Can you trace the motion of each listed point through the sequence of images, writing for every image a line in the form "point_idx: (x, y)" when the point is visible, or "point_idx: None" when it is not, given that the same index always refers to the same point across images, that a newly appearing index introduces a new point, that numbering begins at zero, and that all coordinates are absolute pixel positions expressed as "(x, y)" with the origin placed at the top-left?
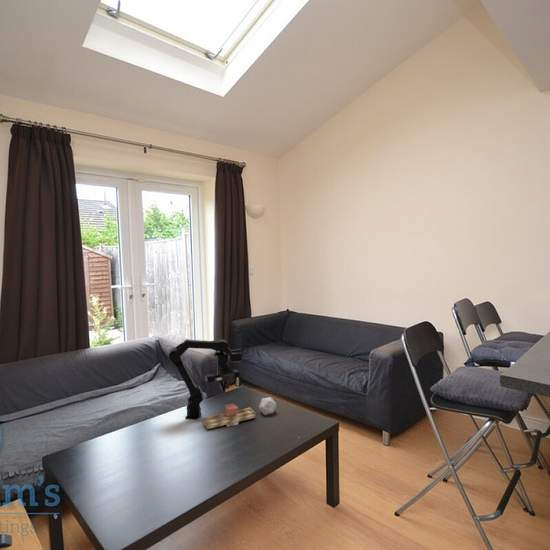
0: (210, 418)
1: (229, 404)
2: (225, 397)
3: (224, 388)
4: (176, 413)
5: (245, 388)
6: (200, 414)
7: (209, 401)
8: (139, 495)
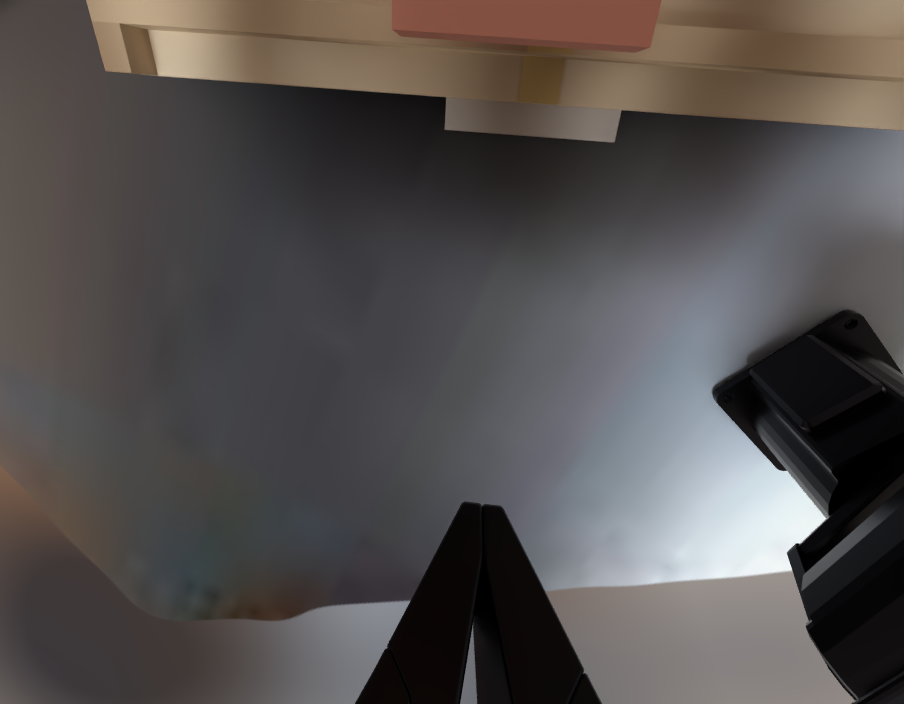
0: (900, 44)
1: (522, 3)
2: (335, 557)
3: (455, 561)
4: None
5: (132, 599)
6: (771, 363)
7: None
8: None
